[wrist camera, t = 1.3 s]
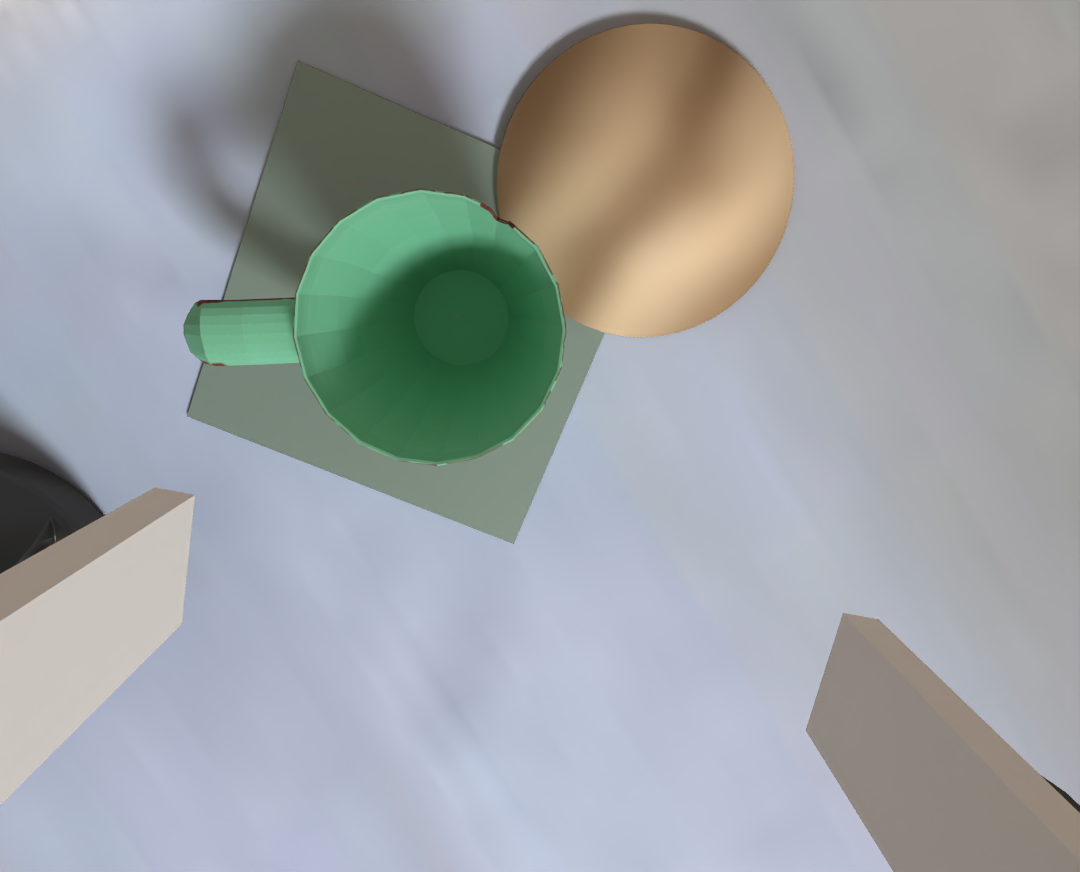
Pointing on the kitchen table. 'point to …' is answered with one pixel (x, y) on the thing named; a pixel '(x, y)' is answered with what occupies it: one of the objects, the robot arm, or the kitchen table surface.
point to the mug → (409, 327)
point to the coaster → (648, 177)
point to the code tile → (278, 264)
